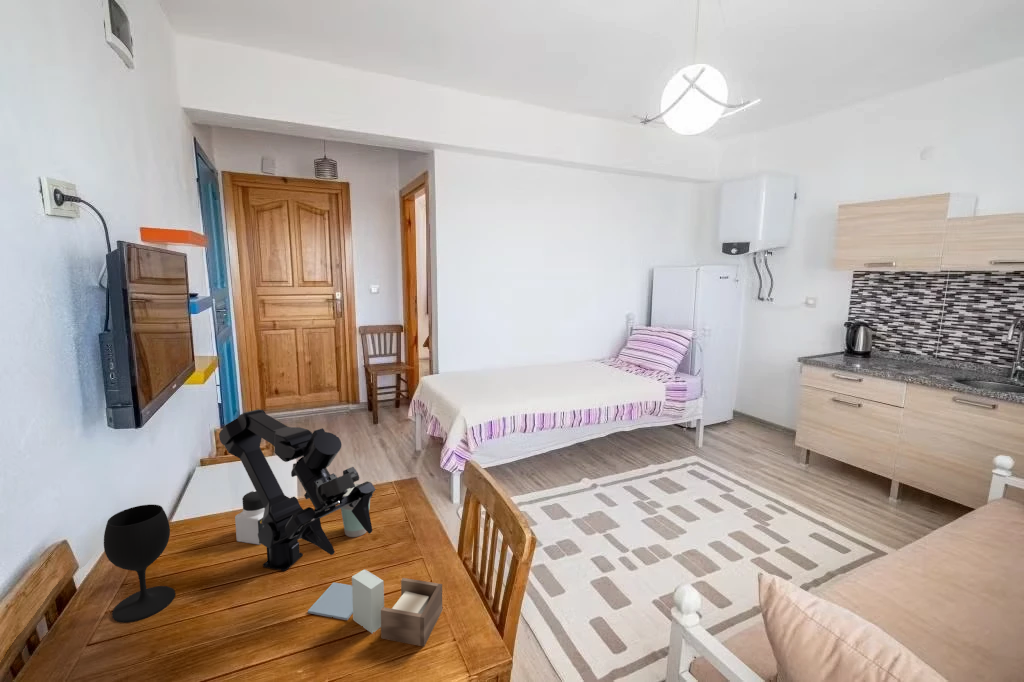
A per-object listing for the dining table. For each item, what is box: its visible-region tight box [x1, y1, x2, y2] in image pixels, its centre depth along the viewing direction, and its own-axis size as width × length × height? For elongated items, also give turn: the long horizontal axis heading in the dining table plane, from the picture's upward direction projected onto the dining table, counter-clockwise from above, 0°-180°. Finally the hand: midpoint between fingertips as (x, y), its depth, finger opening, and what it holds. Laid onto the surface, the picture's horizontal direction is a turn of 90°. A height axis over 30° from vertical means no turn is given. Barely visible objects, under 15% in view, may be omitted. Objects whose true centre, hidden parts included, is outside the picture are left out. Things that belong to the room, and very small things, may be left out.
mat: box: [307, 582, 353, 621], centre depth 96 cm, size 9×9×1 cm
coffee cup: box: [340, 483, 371, 538], centre depth 122 cm, size 8×8×12 cm
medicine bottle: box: [234, 490, 265, 545], centre depth 119 cm, size 7×7×12 cm
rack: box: [380, 577, 443, 647], centre depth 90 cm, size 9×10×6 cm
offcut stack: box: [391, 591, 429, 614], centre depth 90 cm, size 6×6×4 cm
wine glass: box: [103, 504, 176, 624], centre depth 93 cm, size 10×10×20 cm
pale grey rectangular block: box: [351, 569, 385, 634], centre depth 90 cm, size 6×3×10 cm, turn 55°
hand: (352, 542), depth 92 cm, fingers open, 9 cm apart
